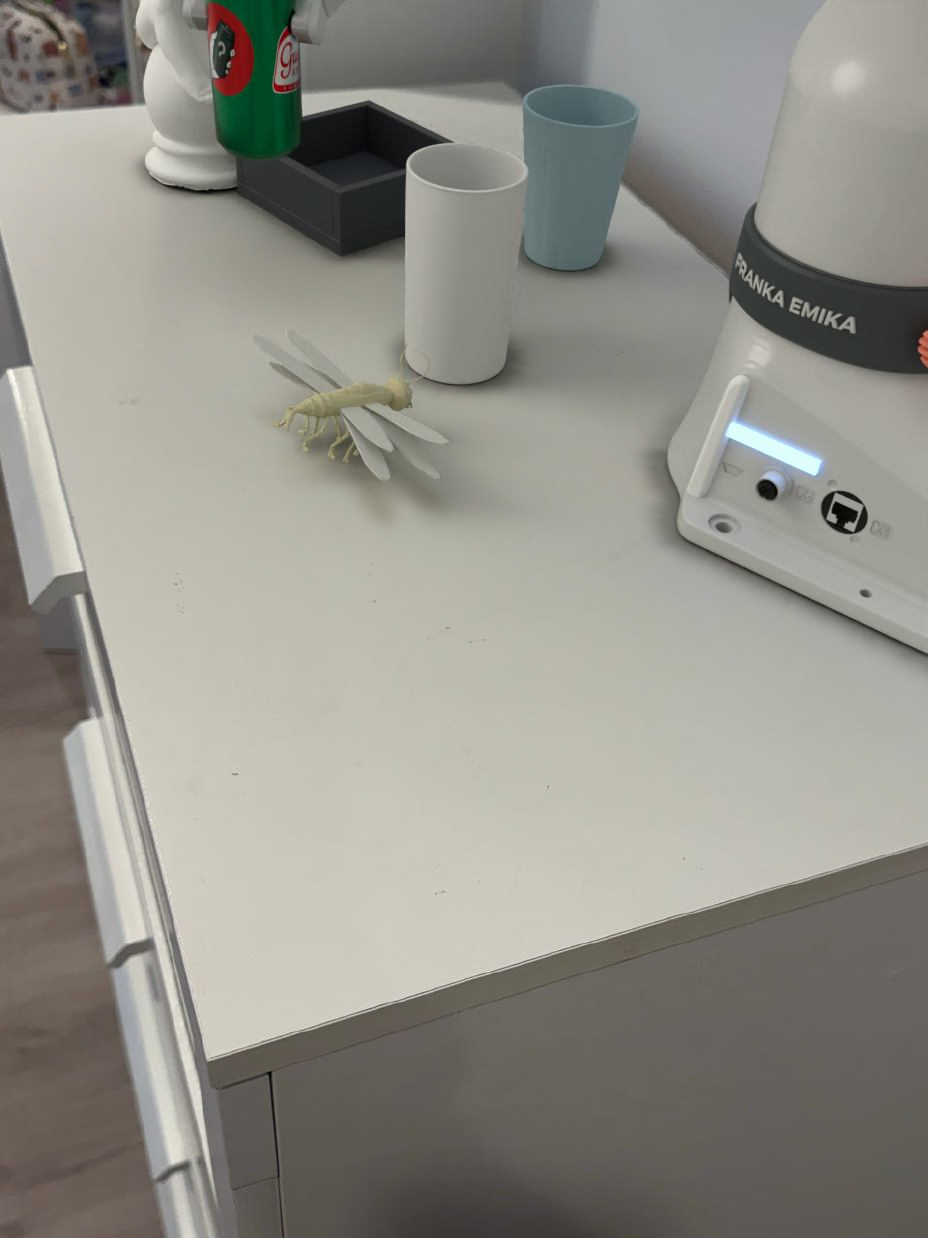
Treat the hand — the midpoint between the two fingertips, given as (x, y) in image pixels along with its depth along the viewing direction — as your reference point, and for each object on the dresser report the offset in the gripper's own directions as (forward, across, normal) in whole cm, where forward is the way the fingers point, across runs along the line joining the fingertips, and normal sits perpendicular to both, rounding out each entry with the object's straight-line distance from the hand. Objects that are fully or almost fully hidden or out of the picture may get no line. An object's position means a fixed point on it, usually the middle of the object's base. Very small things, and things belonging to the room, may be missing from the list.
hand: (253, 31), depth 65 cm
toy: (+22, +9, +2) cm, 24 cm away
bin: (0, +2, +24) cm, 24 cm away
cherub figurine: (-2, -13, +26) cm, 29 cm away
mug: (+13, +12, +11) cm, 21 cm away
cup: (+2, +18, +21) cm, 28 cm away
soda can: (+4, 0, +5) cm, 7 cm away
